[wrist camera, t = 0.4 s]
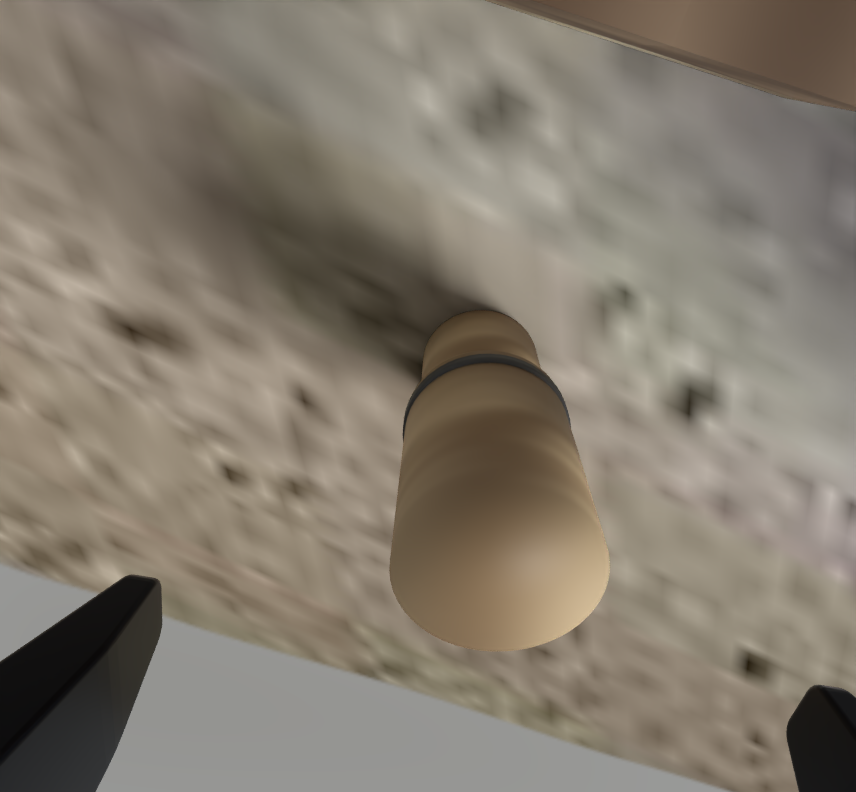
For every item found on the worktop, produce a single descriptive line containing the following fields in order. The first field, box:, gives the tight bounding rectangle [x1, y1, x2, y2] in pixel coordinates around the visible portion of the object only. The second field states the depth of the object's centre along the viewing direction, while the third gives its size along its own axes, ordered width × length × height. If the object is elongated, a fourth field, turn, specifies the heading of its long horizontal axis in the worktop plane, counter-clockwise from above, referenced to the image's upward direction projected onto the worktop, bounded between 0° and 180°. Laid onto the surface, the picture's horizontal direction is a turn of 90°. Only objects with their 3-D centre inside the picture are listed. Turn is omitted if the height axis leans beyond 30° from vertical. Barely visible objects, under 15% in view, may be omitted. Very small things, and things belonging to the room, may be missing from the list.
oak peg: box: [389, 310, 610, 651], centre depth 16 cm, size 4×4×9 cm
